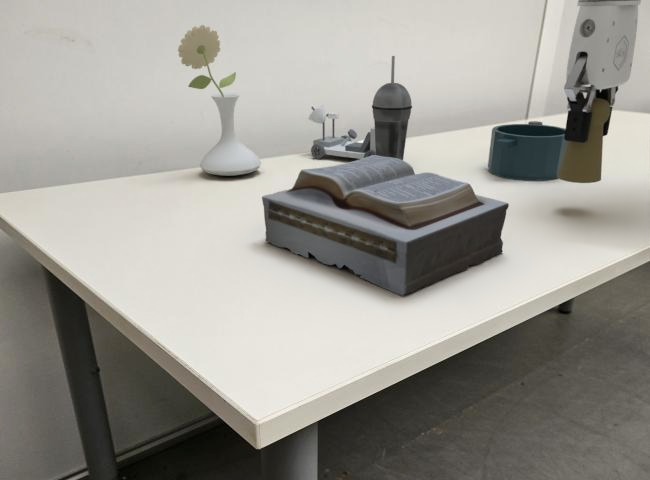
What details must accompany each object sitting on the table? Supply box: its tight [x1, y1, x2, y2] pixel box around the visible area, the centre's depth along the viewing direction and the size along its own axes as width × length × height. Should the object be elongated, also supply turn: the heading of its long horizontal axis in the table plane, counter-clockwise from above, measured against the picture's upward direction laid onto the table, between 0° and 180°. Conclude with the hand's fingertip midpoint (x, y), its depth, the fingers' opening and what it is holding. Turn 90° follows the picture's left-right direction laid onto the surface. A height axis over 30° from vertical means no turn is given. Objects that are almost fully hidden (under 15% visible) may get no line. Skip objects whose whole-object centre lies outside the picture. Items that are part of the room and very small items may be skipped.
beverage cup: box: [371, 55, 413, 161], centre depth 110 cm, size 7×7×20 cm
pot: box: [487, 123, 568, 182], centre depth 112 cm, size 14×19×8 cm
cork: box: [557, 97, 611, 184], centre depth 87 cm, size 6×6×11 cm
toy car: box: [307, 105, 376, 160], centre depth 124 cm, size 18×10×12 cm
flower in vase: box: [177, 24, 262, 177], centre depth 108 cm, size 13×11×25 cm
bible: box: [261, 155, 510, 298], centre depth 76 cm, size 23×27×10 cm
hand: (585, 136), depth 87 cm, fingers closed on cork, 5 cm apart
